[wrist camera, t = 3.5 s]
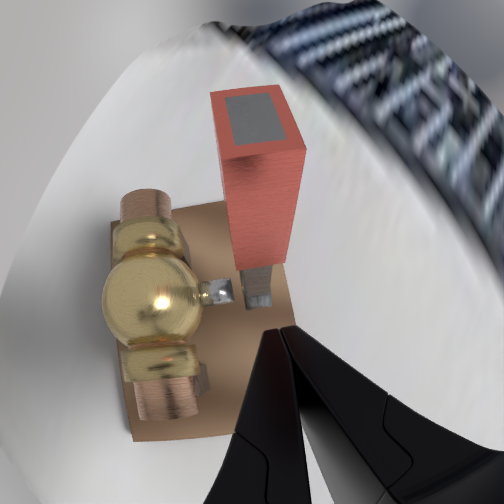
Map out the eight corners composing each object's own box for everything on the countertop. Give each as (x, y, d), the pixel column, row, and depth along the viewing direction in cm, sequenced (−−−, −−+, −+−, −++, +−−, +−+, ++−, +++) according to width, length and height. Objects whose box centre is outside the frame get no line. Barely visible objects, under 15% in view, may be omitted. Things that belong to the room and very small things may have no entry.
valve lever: (274, 311, 16) (306, 148, 6) (242, 316, 16) (220, 159, 6) (265, 270, 17) (278, 84, 7) (235, 276, 17) (209, 92, 7)
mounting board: (310, 415, 19) (314, 418, 18) (139, 438, 18) (133, 441, 17) (266, 201, 25) (266, 194, 23) (116, 228, 24) (110, 221, 23)
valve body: (252, 393, 19) (254, 413, 11) (154, 405, 18) (98, 425, 10) (223, 232, 22) (211, 162, 15) (135, 247, 22) (85, 189, 14)
